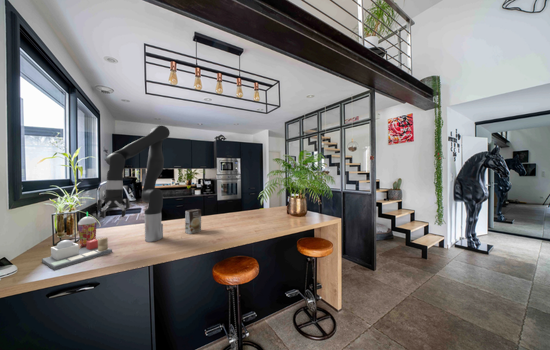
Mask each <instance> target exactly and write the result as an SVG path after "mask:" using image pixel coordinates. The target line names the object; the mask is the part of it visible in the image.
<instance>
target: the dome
mask: <svg viewBox="0 0 550 350" xmlns="http://www.w3.org/2000/svg"><path fill="white" fill-rule="evenodd" d="M73 243H74V242H73V241H72V240H70V239H63V240H60V241H59V242H58V243H57V244H56V245H55V246H56V249H62V248H66V247H70V246H73Z"/></svg>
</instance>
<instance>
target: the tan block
mask: <svg viewBox="0 0 550 350" xmlns="http://www.w3.org/2000/svg"><path fill="white" fill-rule="evenodd" d="M97 240H98V251H104V250H107V249H108V248H109V245H108V241H109V240H108V237H99V238H98V239H97Z"/></svg>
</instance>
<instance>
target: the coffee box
mask: <svg viewBox="0 0 550 350" xmlns="http://www.w3.org/2000/svg"><path fill="white" fill-rule="evenodd" d="M184 213H185V214H184V215H185V217H184V218H185V219H184V221H185V222H184V223H185V224H184V229H185V230H184V231H185V233H186V234H188V235H192V234H195V233H200V232H201V231H202V209H200V208H198V209H197V208H195V209H188V210H185V212H184Z"/></svg>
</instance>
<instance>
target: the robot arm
mask: <svg viewBox="0 0 550 350" xmlns="http://www.w3.org/2000/svg"><path fill="white" fill-rule="evenodd" d="M169 129H170V128H168V127H167V126H165V125H157V126H155V127H152V128H151V129H150V132H149V134H146V135H144V136H142V137H141V138H138V139H137V140H134V141H132V142H131V143H128V144H127V145H125V146H124V147H122V148H120V149H119V150H116V151H114V152H112V153H110V154H109V155H107V157H106V158H105V162H106V163H107V165H109V168H108V170H107V172H106V182H105V198H104V199H102V198H100V199H97V206H96V211H99V212H100V217H101V218H102V219H106V212H107V211H106V210H107V209H108V208H113V207H114V208H116V207H118V208H119V209H121V218H124V217H125V216H126V212H127V211H126V210H129V209H130V207H131V205H130V198H124V197H123V194H124V193H123V192H124V189H123V188H124V183H123V180H124V178H123V177H124V175H123V174H124V173H123V172H124V170H125V166H126V165H125V164H126V161H127V160H129V159H131V158H133V157H135V156H137V155H138V154H140V153H141V152H143V151H145V150H146V149H148V148H149V149H148V157H147V162H146V170H145V171H146V172H145V177H144V183H143V187H142V191H141V200H142V201H143V202H144V203H148V207H147V208H146V209H144V242H148V243H149V242H151V243H152V242H156V241H160V240H162V239H163V238H164V224H163V222H162V209H163V205H164V204H163V203H164V200H163V199H164V195H163V191H162V189H160V188H156V183H157V180H158V178H159V177H160V176H161V174H162V172H163V170H164V165H165V162H164V161H165V157H164V154H163V148H162V147H163V143H164V142H163V141H164V140H167V139H168V137H169V136H170V132H171V131H170V130H169ZM123 202H124V203H125V206H124V205H123ZM104 203H105V205H104V206H103V204H104ZM102 206H103V207H102Z"/></svg>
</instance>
